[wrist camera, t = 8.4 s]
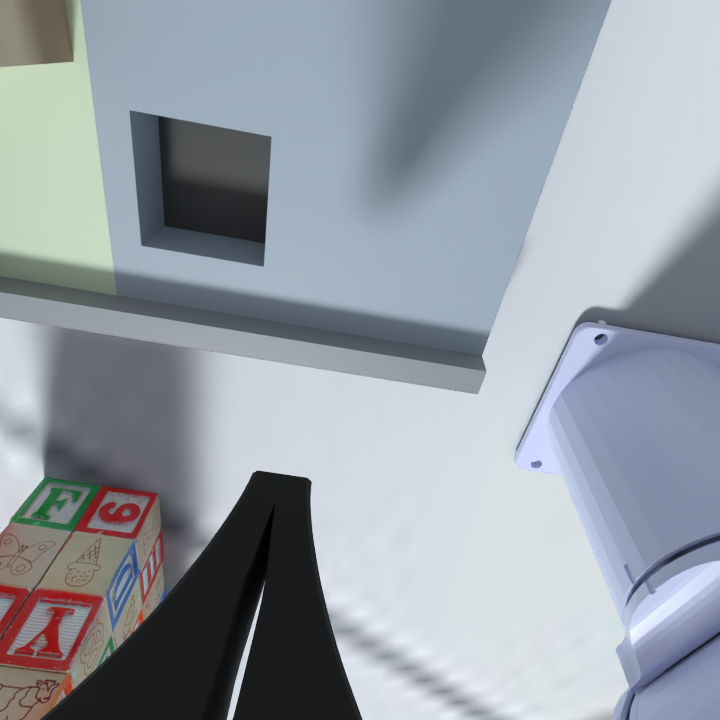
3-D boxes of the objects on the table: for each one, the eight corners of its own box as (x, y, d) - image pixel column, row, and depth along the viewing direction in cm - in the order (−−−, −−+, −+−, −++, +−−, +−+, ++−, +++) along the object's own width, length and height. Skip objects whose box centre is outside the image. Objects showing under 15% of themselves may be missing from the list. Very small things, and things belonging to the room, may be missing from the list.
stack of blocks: (176, 673, 38) (98, 908, 28) (94, 663, 38) (-14, 897, 27) (159, 490, 26) (15, 779, 16) (41, 472, 26) (-184, 757, 16)
